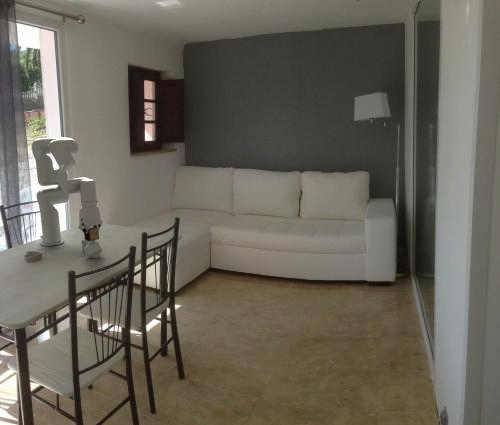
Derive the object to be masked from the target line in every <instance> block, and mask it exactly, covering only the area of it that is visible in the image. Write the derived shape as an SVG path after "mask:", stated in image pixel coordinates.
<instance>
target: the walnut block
mask: <svg viewBox="0 0 500 425" xmlns="http://www.w3.org/2000/svg"><path fill="white" fill-rule="evenodd" d="M99 231H100V228H99V229H98V228H97V227H93V226H91V227H89V231H88V233H89V236H90V241H95V242H96V241H97V240H98V241H99V240H100V233H99Z"/></svg>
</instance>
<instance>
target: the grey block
mask: <svg viewBox="0 0 500 425" xmlns="http://www.w3.org/2000/svg"><path fill="white" fill-rule="evenodd" d="M88 242H96V240H95V241H87V240H85V238H83V239H81V249H82V251H83V252H84V250H83V249H84V248H85V246H86V245H87V243H88Z"/></svg>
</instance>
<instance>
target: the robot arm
mask: <svg viewBox="0 0 500 425" xmlns="http://www.w3.org/2000/svg"><path fill="white" fill-rule="evenodd" d="M78 151H79V145H78V142H77V141H76V140H74V139H73V138H71V137H63V136H61V137H42V138H41V137H40V138H37V139H34V140H33V142H32V144H31V152H32V155H33V157H34V160H35V168H36V177H37V182H38V184H39V185H40V186H41V187H46V188H42V189H40V190H38V191H37V193H36V201H37V205H38V208H39V212H40V214H39V215H40V223H41V233H42V235H41V236H40V237H39V238H40V239H42V240H41V241H40V245H41V246H44V247H52V246H59V245H61V244H64V243H65V239H63V238H62V234H61V225H60V215H59V210H58V209H57V208H56V207H55V206H54V205H58V204H59V205H60V204H65V203H67V202H69V200H70V196H71V195H74V194H79V195H80V204H81V205H80V206H81V207H80V208H79V215H78V217H79V218H78V221H79V222H78V223H79V225H78V226H77V228H78V229H79V230H80V231H82V233H83V235H84V238H83V239H85V240H87V241H90V236H89V233H88V231H89V227H97V228H98V229H99V230H100V228H101V226H102V225H103V223H104V222H103V220H102V219H101V212H100V208H99V206H98V203H99V200H98V199H97V188H96V181H95V180H94V179H91V178H88V177H77V178H75V177H74V178H69V176H68V173H67V172H68V171H70V170H71V169H72V168H73V167H74V166H75V165H76V159H75V157H74V156H73V155H76V154H77V153H78ZM49 154H51V155H52V156H53V158H54V160H55V161H56V164H57V165H58V167H54V162H53V159H52V158H51V156H50V155H49ZM50 186H54V187H50ZM78 229H77V230H78Z"/></svg>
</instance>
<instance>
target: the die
mask: <svg viewBox="0 0 500 425" xmlns="http://www.w3.org/2000/svg"><path fill="white" fill-rule="evenodd" d="M83 250H84V251H83V252H84V253H85V254H84V255H86V258H87V259H99V257H100V255H101V253H102V252H103V249H102V247H101V244H100V243H99V242H98V241H95V242H88V243H87V245H86V246H85V248H84V249H83Z"/></svg>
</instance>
